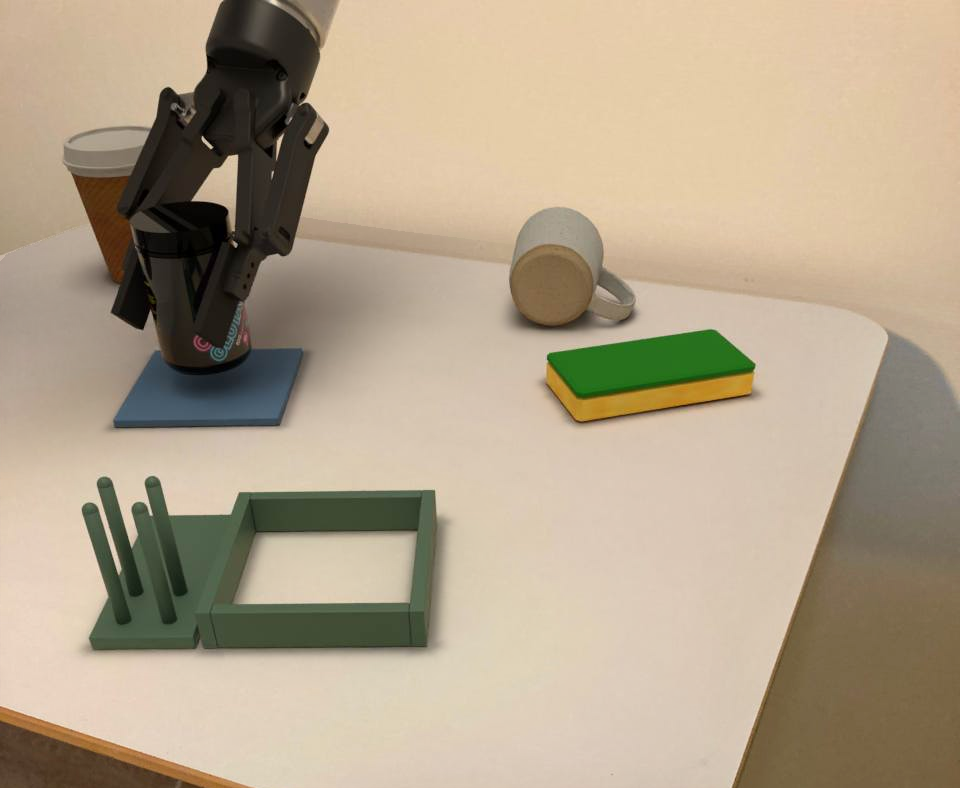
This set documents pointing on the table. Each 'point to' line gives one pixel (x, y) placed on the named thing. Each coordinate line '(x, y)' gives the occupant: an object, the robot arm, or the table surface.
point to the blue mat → (213, 393)
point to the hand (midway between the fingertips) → (166, 330)
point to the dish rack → (220, 561)
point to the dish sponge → (648, 374)
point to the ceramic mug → (564, 270)
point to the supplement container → (186, 282)
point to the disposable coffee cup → (105, 183)
